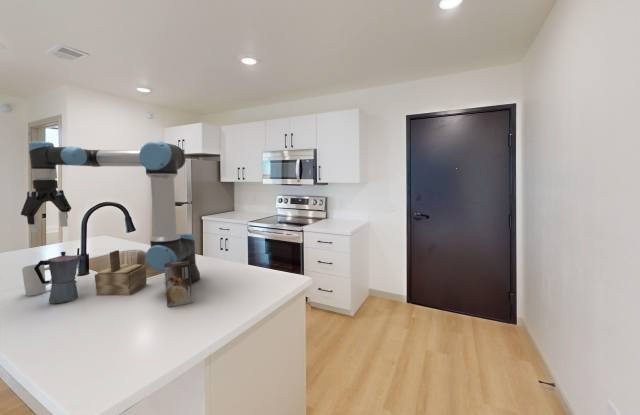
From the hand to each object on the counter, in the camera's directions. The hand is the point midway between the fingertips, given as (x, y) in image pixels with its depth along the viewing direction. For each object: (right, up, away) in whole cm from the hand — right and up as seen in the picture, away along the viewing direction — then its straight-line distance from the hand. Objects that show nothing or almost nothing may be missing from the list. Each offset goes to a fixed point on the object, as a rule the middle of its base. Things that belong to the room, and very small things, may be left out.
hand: (50, 229), depth 121 cm
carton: (+27, -28, +6) cm, 39 cm away
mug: (-7, -28, +3) cm, 29 cm away
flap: (+27, -18, +5) cm, 33 cm away
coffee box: (+59, -29, -7) cm, 66 cm away
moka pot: (+10, -29, -5) cm, 31 cm away
